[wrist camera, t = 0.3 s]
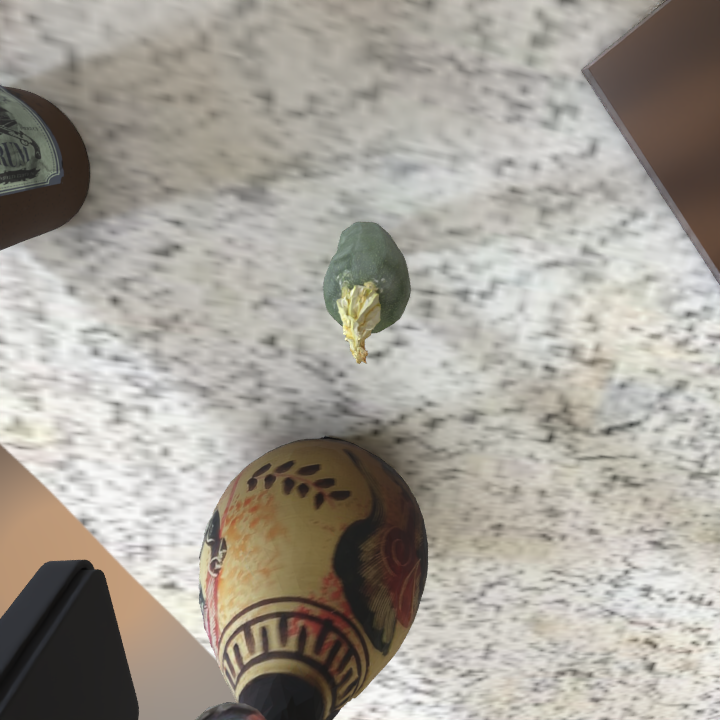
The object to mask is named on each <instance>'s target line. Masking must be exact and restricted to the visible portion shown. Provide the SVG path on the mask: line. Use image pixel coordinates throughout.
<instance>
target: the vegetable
mask: <svg viewBox="0 0 720 720" xmlns="http://www.w3.org/2000/svg"><path fill="white" fill-rule="evenodd" d="M323 291H324V299H325V304H326V308H327V310H328V312H329V314H330V315H331V316H332V317H333V318H334V319H335V320H336V321H337V322H338V323H339V324H340V325H341V326H342V327H343V333H344V335H346V338H345V341H347V342H348V341H349V343H350V351H351V352H352V355H353V357H354V358H355V359H356V362H357V363H359V364H360V363H361V361H363V362H364V363H366V356H367V355H368V353H367V351H366V350H365V348H364V346H365V339H366V338H368V337H369V336H370V335H371V333H378V332H380V331H382V330H384V329H385V328H387V327H389V326H390V325H392V324H393V323H395V322H396V321H397V320H399V319H400V318H401V316H402V314H403V312H404V310H405V307H406V305H407V302H408V300H409V297H410V291H411V288H410V279H409V274H408V268H407V264H406V261H405V258H404V256H403V254H402V253H401V251H400V250H399V248H398V247H397V245H396V244H395V242H394V241H393V239H392V238H391V236H390V235H389V234H388V233H387V232H386V231H385V230H384V229H383V228H382V227H381V226H379V225H378V224H376V223H372V222H357V223H354V224H353V225H351V226H350V227H348V228H347V229H346V230H344V231H343V232H342V233H341V236H340V240H339V244H338V250H337V253H336V254H335V255H334V257H333V258H332V260H331V263H330V265H329V268H328V270H327V273H326V275H325V278H324V285H323ZM366 364H367V363H366Z"/></svg>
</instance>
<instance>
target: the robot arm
mask: <svg viewBox="0 0 720 720" xmlns="http://www.w3.org/2000/svg"><path fill="white" fill-rule="evenodd" d="M138 716H139V707H138V701H137V697H136V693H135V689H134V686H133V682H132V678H131V674H130V670H129V666H128V663H127V659H126V655H125V651H124V647H123V643H122V639H121V636H120V632H119V628H118V624H117V621H116V616H115V613H114V609H113V605H112V602H111V597H110V594H109V590H108V586H107V582H106V578H105V575H104V573H103V572H102V571H101V570H98V569H97V570H94V567H93V565H92V564H91V563H90V562H89V561H88V560H67V561H49V562H47V563H45V564H44V565H43V566H41V568H40V569H39V570H38V571H37V572H36V574H35V575H34V577H33V578H32V579H31V580H30V581H29V583H28V584H27V585H26V587H25V588H24V589H23V590H22V592H21V593H20V594H19V596H18V597H17V598H16V599H15V601H14V602H13V603H12V605H11V606H10V607H9V609H8V610H7V611H6V613H5V614H4V615H3V616H2V617H1V619H0V720H138Z"/></svg>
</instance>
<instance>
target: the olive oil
mask: <svg viewBox="0 0 720 720" xmlns="http://www.w3.org/2000/svg"><path fill="white" fill-rule="evenodd" d="M89 177H90V172H89V162H88V157H87V153H86V149H85V147H84V144H83V142H82V139H81V137H80V135H79V134H78V132H77V130H76V129H75V127H74V126H73V124H72V123H71V122H70V120H69V119H68V118H67V117H66V116H65V115H64V114H63V113H62V112H61V111H60V110H59V109H58V108H57V107H56V106H54V105H53V104H52V103H50V102H49V101H47V100H45V99H44V98H42V97H40V96H38V95H36V94H33V93H31V92H28V91H24V90H20V89H16V88H10V87H3V86H1V84H0V250H3V249H5V248H8V247H10V246H12V245H15V244H17V243H20V242H22V241H25V240H28V239H30V238H33V237H36V236H38V235H41V234H44V233H46V232H49V231H52V230H54V229H56V228H58V227H60V226H62V225H64V224H65V223H66V222H68V221H69V220H70V219H71V218H72V217H73V216H74V215H75V214H76V213H77V212H78V210H79V209H80V207H81V206H82V204H83V202H84V200H85V197H86V194H87V191H88V186H89Z"/></svg>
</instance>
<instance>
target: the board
mask: <svg viewBox="0 0 720 720" xmlns="http://www.w3.org/2000/svg"><path fill="white" fill-rule="evenodd" d="M581 71H582V73H583V74H584V76H585V77H586V79H587V80H588V82H589V83H590V85H591V86H592V88H593V90H594V91H595V93H596V94H597V96H598V97H599V99H600V100H601V102H602V103H603V105H604V107H605V108H606V110H607V111H608V113H609V114H610V116H611V117H612V119H613V120H614V122H615V124H616V125H617V127H618V128H619V130H620V131H621V133H622V134H623V136H624V137H625V139H626V141H627V142H628V144H629V145H630V147H631V148H632V150H633V151H634V153H635V154H636V156H637V158H638V159H639V161H640V162H641V164H642V165H643V167H644V168H645V170H646V171H647V173H648V175H649V176H650V178H651V179H652V181H653V182H654V184H655V185H656V187H657V188H658V190H659V192H660V193H661V195H662V196H663V198H664V199H665V201H666V202H667V204H668V205H669V207H670V209H671V210H672V212H673V213H674V215H675V216H676V218H677V219H678V221H679V222H680V224H681V225H682V227H683V229H684V230H685V232H686V233H687V235H688V236H689V238H690V239H691V241H692V242H693V244H694V246H695V247H696V249H697V250H698V252H699V253H700V255H701V256H702V258H703V259H704V261H705V263H706V264H707V266H708V267H709V269H710V270H711V272H712V273H713V275H714V276H715V278H716V280H717V281H718V283H719V284H720V0H667V1H665V2H664V3H663V4H662V5H660V6H659V7H658V8H657V9H655V10H654V11H653V12H652V13H651V14H649V15H648V16H647V17H646V18H644V19H643V20H642V21H641V22H640V23H638V24H637V25H636V26H635V27H633V28H632V29H631V30H630V31H629V32H627V33H626V34H625V35H624V36H622V37H621V38H620V39H619V40H617V41H616V42H615V43H614V44H613V45H611V46H610V47H609V48H608V49H606V50H605V51H604V52H603V53H602V54H600V55H599V56H598V57H597V58H595V59H594V60H593V61H592V62H591V63H589V64H588V65H587V66H586V67H584V68H583V69H582V70H581Z"/></svg>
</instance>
